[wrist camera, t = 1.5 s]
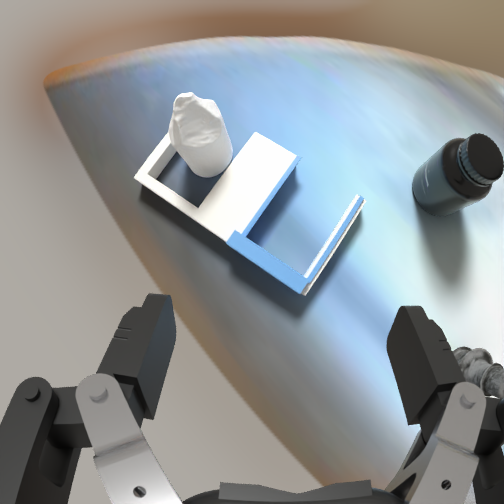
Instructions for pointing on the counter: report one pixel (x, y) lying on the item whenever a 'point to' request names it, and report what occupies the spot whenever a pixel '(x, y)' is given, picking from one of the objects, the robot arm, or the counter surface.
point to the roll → (200, 135)
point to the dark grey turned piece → (481, 370)
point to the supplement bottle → (458, 175)
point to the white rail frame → (247, 204)
